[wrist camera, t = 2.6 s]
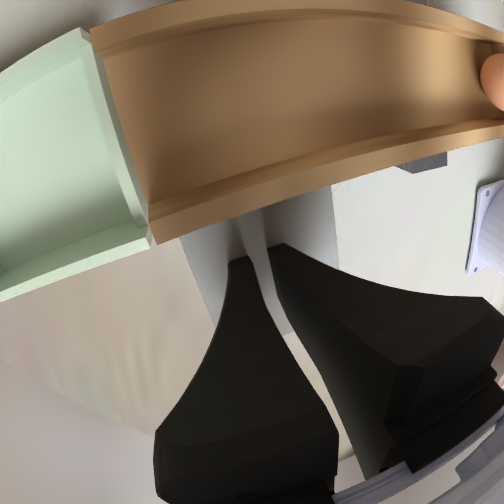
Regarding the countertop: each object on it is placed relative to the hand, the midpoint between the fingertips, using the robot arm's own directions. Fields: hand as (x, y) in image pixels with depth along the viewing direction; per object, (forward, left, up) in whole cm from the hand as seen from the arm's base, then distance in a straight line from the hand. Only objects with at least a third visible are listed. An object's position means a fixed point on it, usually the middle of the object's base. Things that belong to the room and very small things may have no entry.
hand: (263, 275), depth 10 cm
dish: (+9, -6, -5) cm, 12 cm away
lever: (-6, -3, -1) cm, 7 cm away
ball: (-13, -6, 0) cm, 15 cm away
